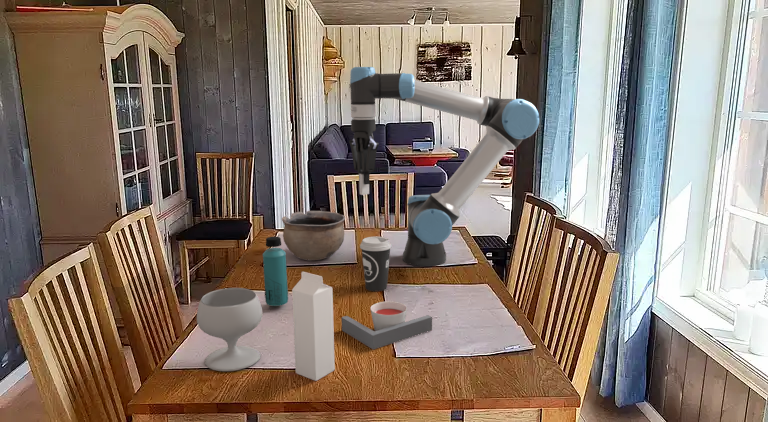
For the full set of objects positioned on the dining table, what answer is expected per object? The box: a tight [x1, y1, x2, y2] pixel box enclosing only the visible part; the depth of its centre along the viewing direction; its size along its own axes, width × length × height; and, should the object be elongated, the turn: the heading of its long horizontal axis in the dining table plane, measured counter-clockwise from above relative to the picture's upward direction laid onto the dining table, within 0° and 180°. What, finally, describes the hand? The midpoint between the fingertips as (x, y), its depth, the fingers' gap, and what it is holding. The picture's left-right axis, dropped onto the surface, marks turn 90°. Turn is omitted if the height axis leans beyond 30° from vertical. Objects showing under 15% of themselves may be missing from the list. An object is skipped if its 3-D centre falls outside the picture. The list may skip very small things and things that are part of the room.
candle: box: [370, 300, 408, 331], centre depth 143 cm, size 9×9×6 cm
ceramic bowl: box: [281, 210, 346, 261], centre depth 205 cm, size 22×22×15 cm
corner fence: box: [341, 314, 433, 350], centre depth 144 cm, size 18×14×4 cm
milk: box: [291, 271, 336, 382], centre depth 122 cm, size 6×6×22 cm
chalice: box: [196, 287, 263, 372], centre depth 128 cm, size 14×14×15 cm
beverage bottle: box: [262, 236, 289, 307], centre depth 159 cm, size 6×7×20 cm
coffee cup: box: [359, 236, 392, 292], centre depth 174 cm, size 10×10×15 cm
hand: (364, 193), depth 183 cm, fingers closed
